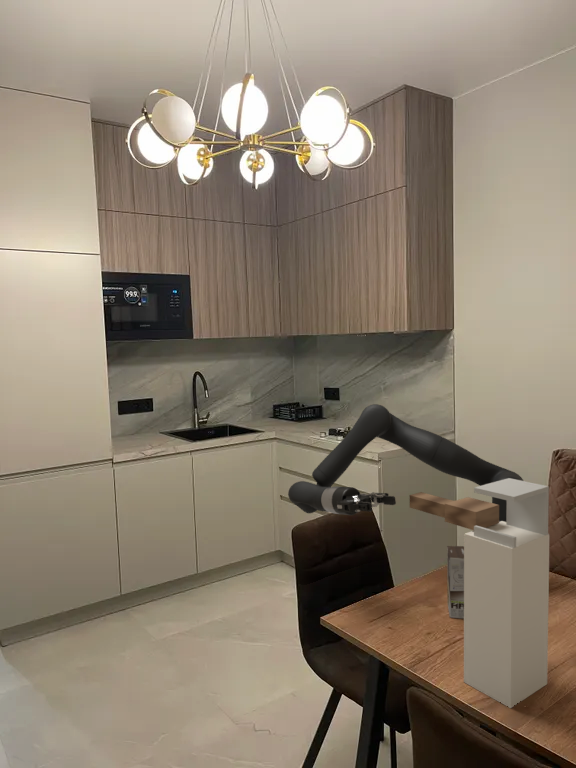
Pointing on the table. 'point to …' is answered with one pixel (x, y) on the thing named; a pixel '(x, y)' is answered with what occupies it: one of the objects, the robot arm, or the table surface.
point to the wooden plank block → (458, 510)
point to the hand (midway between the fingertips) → (383, 503)
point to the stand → (508, 595)
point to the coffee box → (455, 581)
